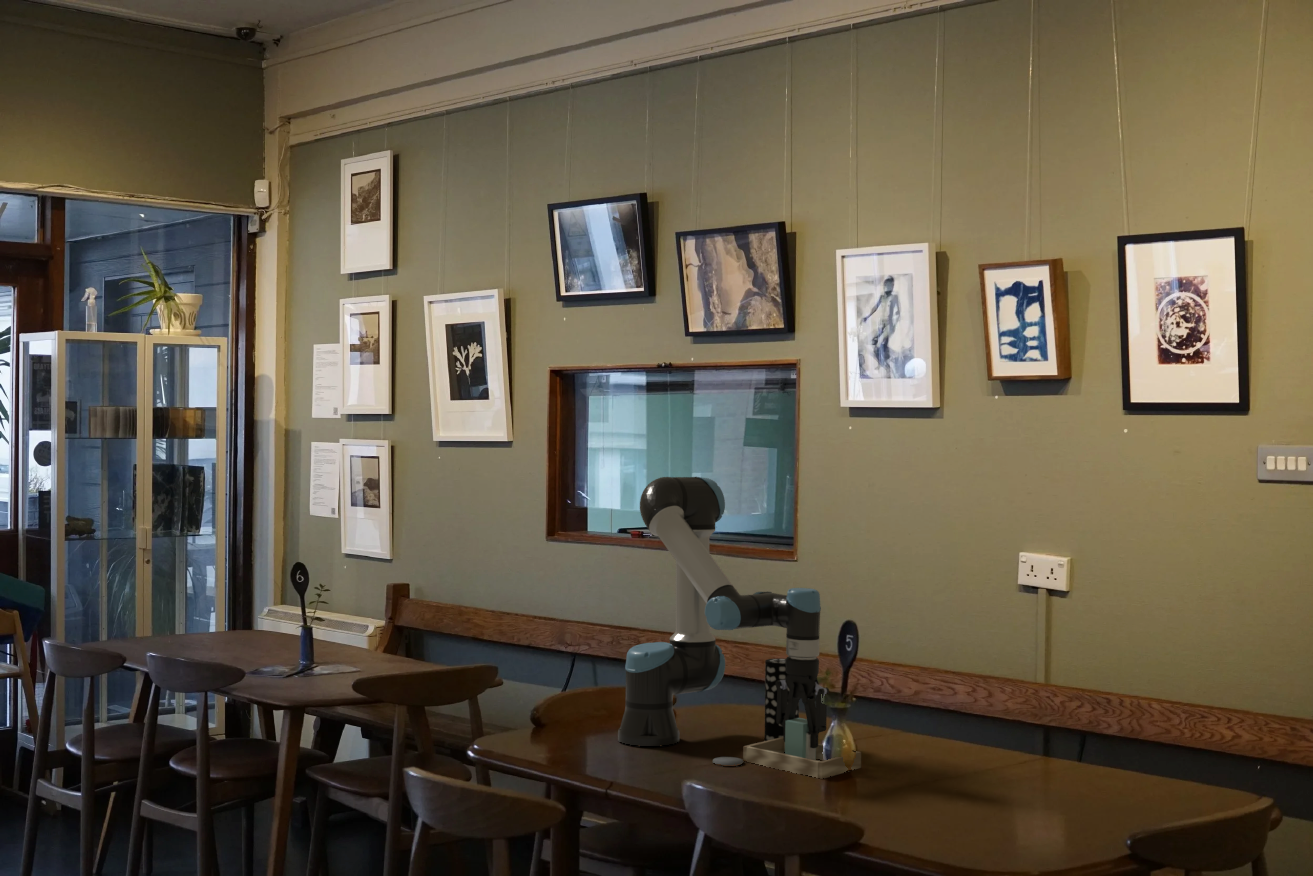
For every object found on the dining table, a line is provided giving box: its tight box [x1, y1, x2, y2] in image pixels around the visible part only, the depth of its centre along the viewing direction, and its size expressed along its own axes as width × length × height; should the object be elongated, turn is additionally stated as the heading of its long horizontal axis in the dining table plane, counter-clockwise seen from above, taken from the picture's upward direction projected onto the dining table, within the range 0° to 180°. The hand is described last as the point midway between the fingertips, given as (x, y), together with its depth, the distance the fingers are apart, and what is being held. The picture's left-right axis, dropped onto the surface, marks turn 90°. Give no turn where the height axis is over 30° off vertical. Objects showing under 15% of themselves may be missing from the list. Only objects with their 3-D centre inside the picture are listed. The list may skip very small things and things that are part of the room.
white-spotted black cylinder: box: [764, 657, 800, 741], centre depth 306 cm, size 8×8×20 cm
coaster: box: [712, 756, 745, 765], centre depth 284 cm, size 7×7×1 cm
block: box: [784, 717, 817, 761], centre depth 284 cm, size 5×5×9 cm
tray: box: [742, 737, 862, 780], centre depth 283 cm, size 22×15×4 cm
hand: (800, 759), depth 283 cm, fingers closed on block, 5 cm apart
